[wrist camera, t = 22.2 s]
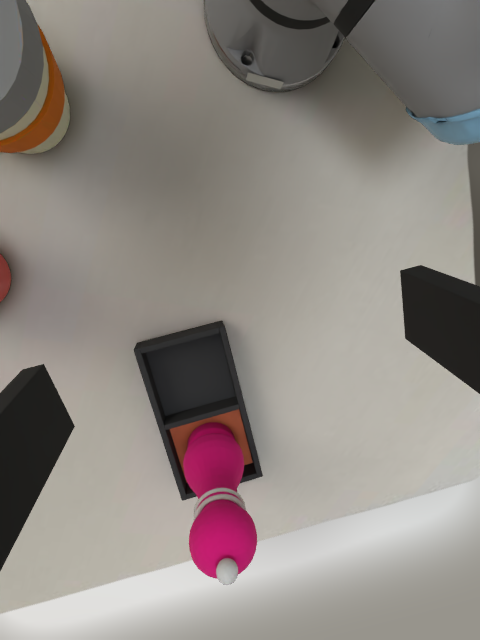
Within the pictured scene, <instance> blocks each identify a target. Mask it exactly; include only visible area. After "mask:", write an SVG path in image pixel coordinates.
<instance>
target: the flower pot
mask: <svg viewBox="0 0 480 640" xmlns="http://www.w3.org/2000/svg"><path fill="white" fill-rule="evenodd" d="M10 284H11V273H10V269H9V266H8V264H7V262H6V261H5V259H4V258H3V256H2V255H1V254H0V302H1V301H2V300H3V299H4V298H5V296H6V295H7V293H8V291H9V288H10Z"/></svg>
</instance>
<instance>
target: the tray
mask: <svg viewBox="0 0 480 640" xmlns="http://www.w3.org/2000/svg"><path fill="white" fill-rule="evenodd" d="M134 352H135V356H136V359H137V362H138V365H139V368H140V371H141V374H142V377H143V380H144V384H145V387H146V390H147V393H148V396H149V399H150V402H151V405H152V408H153V412H154V415H155V418H156V421H157V424H158V427H159V430H160V433H161V436H162V440H163V443H164V446H165V449H166V452H167V455H168V458H169V461H170V464H171V468H172V471H173V474H174V477H175V480H176V483H177V486H178V489H179V492H180V496H181V499H182V500H186V499H190V498H193V497H196V496H197V495H196V494H195V493H194V491H193V490H192V489H191V488H190V486H189V484H188V482H187V480H186V478H185V474H184V467H183V460H184V456H185V453H186V451H187V445H188V439H189V437H190V435H191V433H192V432H193V431H194V430H195V429H196V428H197V427H198V426H200V425H202V424H205V423H209V422H217V423H221V424H223V425H225V426H227V427H228V428H229V429H230V430H231V431H232V433H233V434H234V437H235V441H236V442H237V443H238V444H239V446H240V448H241V450H242V453H243V457H244V471H243V475H242V479H241V481H240V483H242V482H245V481H249V480H252V479H255V478H257V477H262V476H263V475H262V471H261V467H260V463H259V459H258V455H257V451H256V447H255V444H254V440H253V436H252V432H251V428H250V424H249V420H248V416H247V412H246V408H245V404H244V400H243V396H242V392H241V389H240V385H239V381H238V377H237V373H236V369H235V365H234V361H233V357H232V353H231V349H230V345H229V341H228V337H227V333H226V330H225V326H224V324H223V321H219V322H215V323H211V324H207V325H204V326H200V327H196V328H192V329H188V330H185V331H181V332H177V333H173V334H169V335H166V336H162V337H158V338H154V339H150V340H147V341H143V342H139V343H137V345H136V347H135V349H134Z"/></svg>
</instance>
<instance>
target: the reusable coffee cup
mask: <svg viewBox="0 0 480 640" xmlns="http://www.w3.org/2000/svg"><path fill="white" fill-rule="evenodd" d="M69 121H70V106H69V102H68V98H67V96H66V93H65V91H64V84H63V80H62V76H61V73H60V70H59V68H58V66H57V63H56V61H55V59H54V56H53V54H52V52H51V50H50V47H49V45H48V43H47V41H46V39H45V36H44V34H43V32H42V30H41V29H40V27H39V26H38V24H37V23H36V20H35V18H34V16H33V13H32V11H31V9H30V7H29V5H28V3H27V2H26V0H0V152H6V153H15V152H20V153H26V154H36V153H42V152H45V151H47V150H50V149H51V148H53V147H54V146H56V145H57V144H58V143H59V142H60V141H61V140H62V138H63V137H64V135H65V134H66V131H67V129H68V126H69Z"/></svg>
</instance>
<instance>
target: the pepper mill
mask: <svg viewBox="0 0 480 640" xmlns="http://www.w3.org/2000/svg"><path fill="white" fill-rule="evenodd" d="M183 467H184V474H185V478H186V480H187V482H188V484H189V486H190V488H191V489H192V490H193V491H194V493H195V494H196V495H197V497H198V499H199V500H198V501H197V503H196V505H195V508H194V522H193V525H192V527H191V530H190V536H189V547H190V552H191V556H192V559H193V561H194V563H195V564H196V565H197V567H198V569H200V570H201V571H202V572H203V573H205V574H206V575H208V576H210V577H213V578H217V579H218V580H219V581H220V582H221V583H222V584H224V585H229V584H232V583H233V582H234V581H235V580H236V578H237V576H238V574H239V573H241V572H242V571H243V570H245V569H246V568H247V566H248V565H249V564H250V562H251V560H252V559H253V556H254V554H255V550H256V545H257V534H256V529H255V525H254V522H253V520H252V518H251V516H250V515H249V514H248V513H247V511H246V509H245V504H244V501H243V499H242V497H241V496H240V495H239V494H238V493H237V487H238V485H239V483H240V481H241V479H242V475H243V471H244V457H243V453H242V450H241V448H240V446H239V444H238V443H237V442H236V441H235V437H234V434H233V433H232V431H231V430H230V429H229V428H228V427H227V426H225V425H223V424H221V423H217V422H209V423H205V424H202V425H200V426H198V427H197V428H196V429H195V430H194V431H193V432H192V433H191V435H190V437H189V439H188V445H187V451H186V453H185V456H184V460H183Z"/></svg>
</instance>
